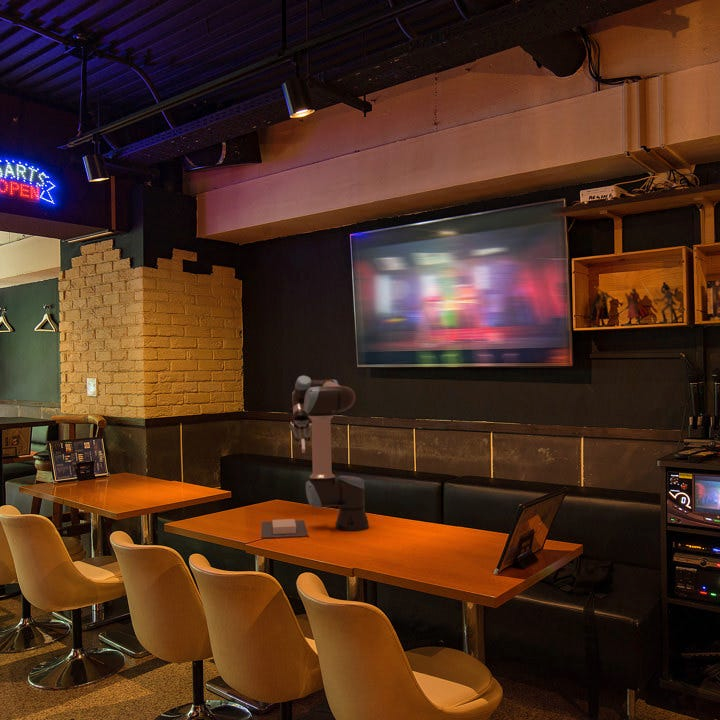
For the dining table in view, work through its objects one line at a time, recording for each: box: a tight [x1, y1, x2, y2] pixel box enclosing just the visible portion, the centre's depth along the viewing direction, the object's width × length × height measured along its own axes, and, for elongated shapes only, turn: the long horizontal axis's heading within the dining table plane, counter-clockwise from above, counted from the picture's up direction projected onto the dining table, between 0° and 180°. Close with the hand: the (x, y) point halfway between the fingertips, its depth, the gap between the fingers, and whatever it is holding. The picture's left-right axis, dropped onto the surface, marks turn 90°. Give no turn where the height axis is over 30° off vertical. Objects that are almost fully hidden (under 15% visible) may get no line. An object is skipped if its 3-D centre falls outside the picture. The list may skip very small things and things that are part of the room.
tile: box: [272, 518, 296, 535], centre depth 302 cm, size 3×10×15 cm
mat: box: [260, 519, 309, 540], centre depth 307 cm, size 30×20×1 cm, turn 8°
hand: (303, 450), depth 331 cm, fingers closed
